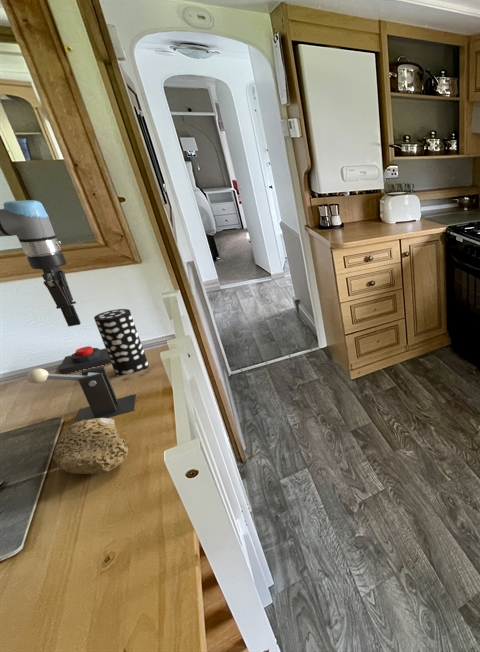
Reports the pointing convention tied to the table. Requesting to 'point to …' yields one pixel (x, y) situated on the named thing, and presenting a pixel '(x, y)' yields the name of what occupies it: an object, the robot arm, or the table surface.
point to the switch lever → (51, 376)
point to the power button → (84, 351)
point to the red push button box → (84, 361)
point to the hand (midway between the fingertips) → (74, 324)
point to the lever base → (102, 397)
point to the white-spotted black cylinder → (121, 341)
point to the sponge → (90, 447)
